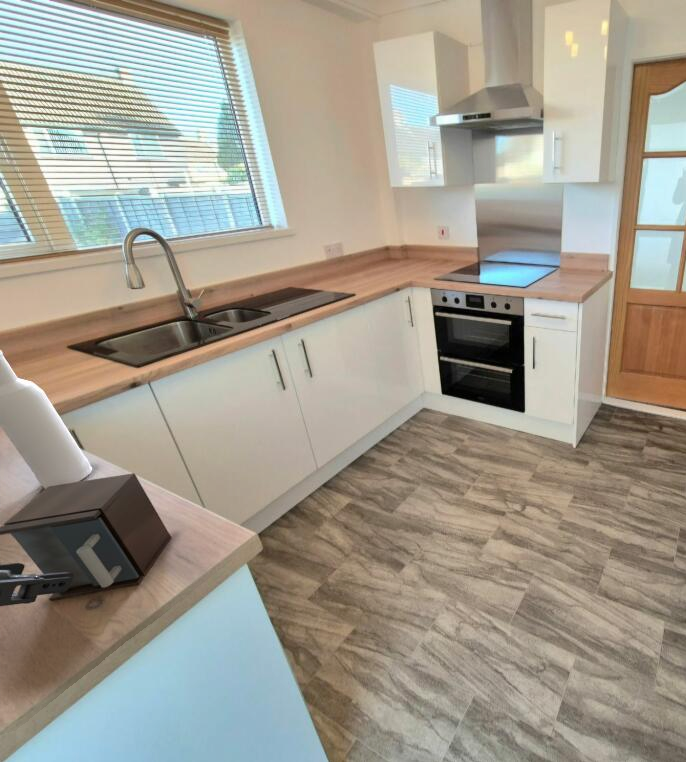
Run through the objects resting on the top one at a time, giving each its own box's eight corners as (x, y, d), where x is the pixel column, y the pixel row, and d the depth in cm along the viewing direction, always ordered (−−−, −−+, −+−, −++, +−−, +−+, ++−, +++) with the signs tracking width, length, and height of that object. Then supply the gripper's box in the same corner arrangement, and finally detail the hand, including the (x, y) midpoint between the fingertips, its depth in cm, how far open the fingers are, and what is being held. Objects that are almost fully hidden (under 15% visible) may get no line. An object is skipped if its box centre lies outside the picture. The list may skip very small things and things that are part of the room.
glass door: (78, 606, 61) (30, 545, 56) (95, 584, 65) (52, 525, 59) (124, 597, 62) (82, 537, 57) (139, 576, 65) (100, 517, 60)
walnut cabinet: (50, 601, 63) (-7, 532, 57) (94, 551, 72) (48, 486, 66) (139, 584, 65) (93, 515, 59) (171, 537, 74) (134, 472, 67)
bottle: (53, 494, 86) (-43, 359, 73) (36, 485, 90) (-59, 353, 76) (100, 471, 93) (20, 342, 79) (82, 463, 96) (3, 338, 83)
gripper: (-97, 563, 39) (98, 552, 54) (-193, 543, 42) (17, 538, 57) (-144, 657, 37) (74, 618, 52) (-241, 629, 40) (-9, 600, 55)
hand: (44, 576), depth 54 cm, fingers open, 8 cm apart
